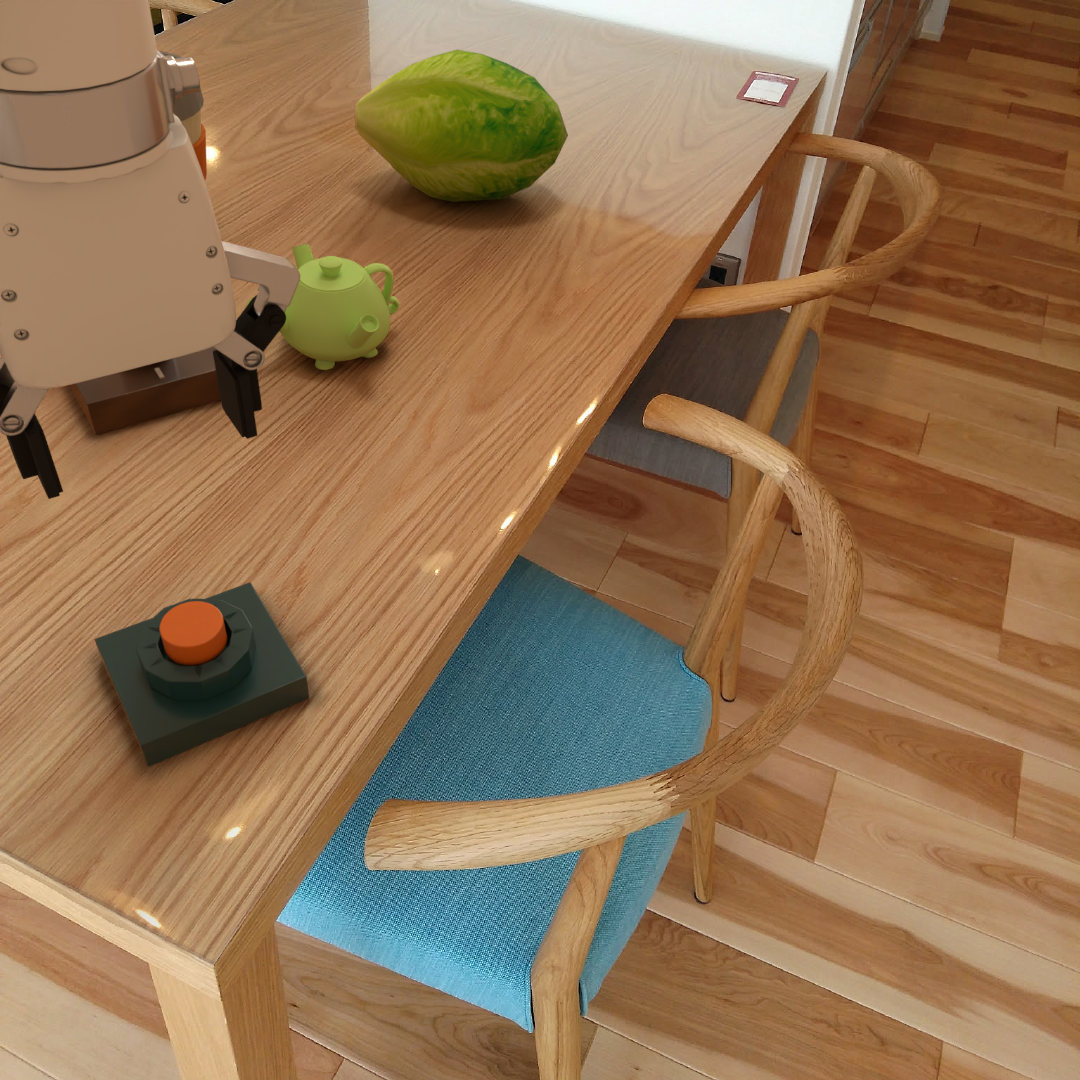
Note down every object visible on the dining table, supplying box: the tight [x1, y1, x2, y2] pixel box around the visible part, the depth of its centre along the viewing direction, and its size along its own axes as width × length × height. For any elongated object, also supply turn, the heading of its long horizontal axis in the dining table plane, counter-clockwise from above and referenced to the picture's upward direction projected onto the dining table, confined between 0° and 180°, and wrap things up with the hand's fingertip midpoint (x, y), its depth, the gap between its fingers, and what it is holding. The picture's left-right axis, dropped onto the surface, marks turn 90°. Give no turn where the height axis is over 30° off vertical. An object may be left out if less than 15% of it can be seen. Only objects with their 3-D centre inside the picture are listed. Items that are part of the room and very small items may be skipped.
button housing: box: [94, 581, 310, 768], centre depth 62 cm, size 10×9×4 cm
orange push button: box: [160, 601, 227, 665], centre depth 60 cm, size 4×4×2 cm
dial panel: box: [69, 347, 221, 435], centre depth 84 cm, size 12×10×3 cm
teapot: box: [245, 243, 400, 371], centre depth 88 cm, size 11×12×8 cm
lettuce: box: [353, 49, 569, 203], centre depth 109 cm, size 15×23×16 cm
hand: (148, 450), depth 51 cm, fingers open, 9 cm apart
